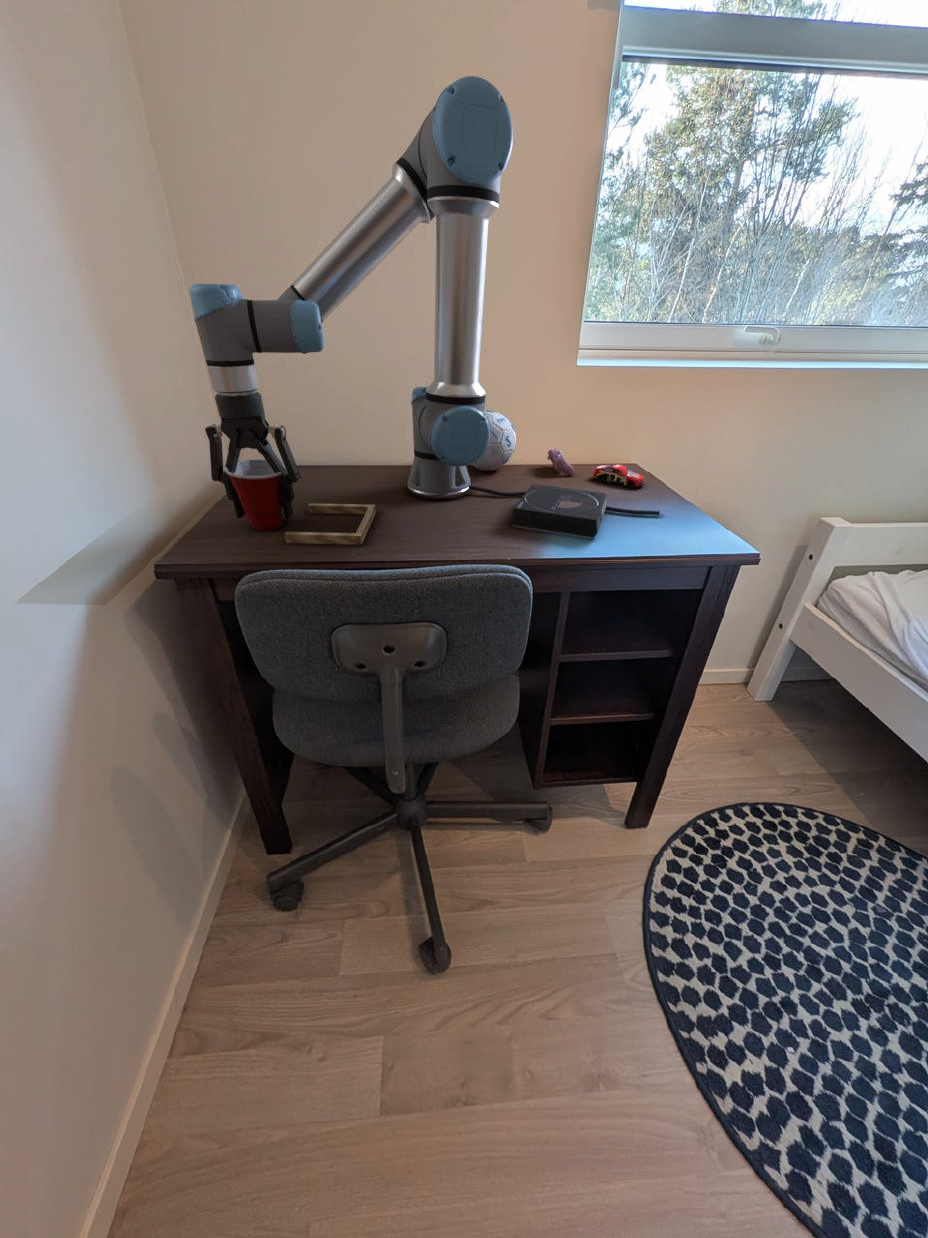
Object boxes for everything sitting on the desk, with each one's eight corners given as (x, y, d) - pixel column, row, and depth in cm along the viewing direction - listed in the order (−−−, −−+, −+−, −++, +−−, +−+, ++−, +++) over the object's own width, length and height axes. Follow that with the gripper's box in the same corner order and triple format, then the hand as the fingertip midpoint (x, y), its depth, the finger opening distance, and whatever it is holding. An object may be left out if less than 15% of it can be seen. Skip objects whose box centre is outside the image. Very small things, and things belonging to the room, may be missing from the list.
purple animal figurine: (551, 471, 136) (542, 448, 132) (566, 463, 135) (558, 440, 131) (560, 482, 128) (551, 458, 124) (576, 474, 127) (567, 450, 123)
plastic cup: (278, 538, 91) (265, 476, 84) (227, 532, 93) (210, 471, 86) (305, 517, 100) (295, 459, 93) (258, 512, 101) (245, 455, 95)
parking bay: (376, 512, 103) (375, 504, 102) (361, 544, 89) (360, 535, 88) (310, 511, 103) (309, 503, 102) (286, 543, 89) (284, 534, 88)
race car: (647, 485, 122) (650, 469, 120) (638, 490, 118) (641, 474, 116) (600, 474, 129) (602, 459, 127) (590, 479, 125) (593, 463, 123)
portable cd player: (596, 539, 93) (599, 520, 91) (511, 526, 98) (513, 507, 96) (605, 511, 106) (608, 493, 104) (530, 500, 111) (532, 483, 109)
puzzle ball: (511, 479, 124) (515, 418, 116) (454, 475, 126) (454, 414, 118) (516, 463, 136) (520, 407, 128) (464, 460, 138) (465, 404, 130)
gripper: (305, 389, 86) (324, 510, 98) (186, 387, 86) (220, 508, 98) (292, 396, 79) (314, 524, 92) (163, 394, 79) (203, 522, 92)
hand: (265, 515), depth 95 cm, fingers closed on plastic cup, 9 cm apart
